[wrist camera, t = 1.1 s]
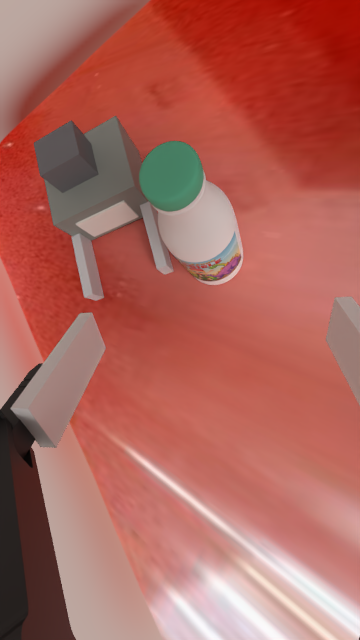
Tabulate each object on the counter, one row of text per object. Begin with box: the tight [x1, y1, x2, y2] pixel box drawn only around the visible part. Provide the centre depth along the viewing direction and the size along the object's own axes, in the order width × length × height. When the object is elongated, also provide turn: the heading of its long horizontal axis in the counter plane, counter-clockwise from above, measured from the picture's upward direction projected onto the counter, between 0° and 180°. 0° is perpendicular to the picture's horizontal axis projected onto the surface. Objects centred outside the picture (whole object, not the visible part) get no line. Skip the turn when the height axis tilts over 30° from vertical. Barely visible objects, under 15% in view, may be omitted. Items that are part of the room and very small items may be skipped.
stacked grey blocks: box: [34, 116, 174, 301], centre depth 38 cm, size 14×21×11 cm, turn 16°
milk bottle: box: [139, 141, 243, 285], centre depth 28 cm, size 8×8×20 cm
